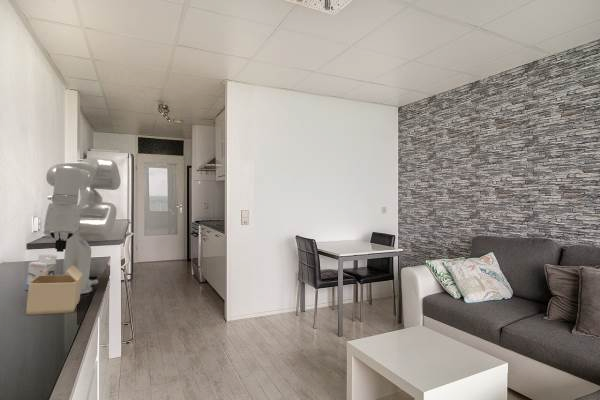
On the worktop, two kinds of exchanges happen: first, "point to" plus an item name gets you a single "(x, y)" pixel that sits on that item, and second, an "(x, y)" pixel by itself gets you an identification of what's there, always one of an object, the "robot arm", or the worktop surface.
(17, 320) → the worktop surface
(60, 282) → the carton
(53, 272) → the ink box
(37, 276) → the flap
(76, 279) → the flap
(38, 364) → the worktop surface
